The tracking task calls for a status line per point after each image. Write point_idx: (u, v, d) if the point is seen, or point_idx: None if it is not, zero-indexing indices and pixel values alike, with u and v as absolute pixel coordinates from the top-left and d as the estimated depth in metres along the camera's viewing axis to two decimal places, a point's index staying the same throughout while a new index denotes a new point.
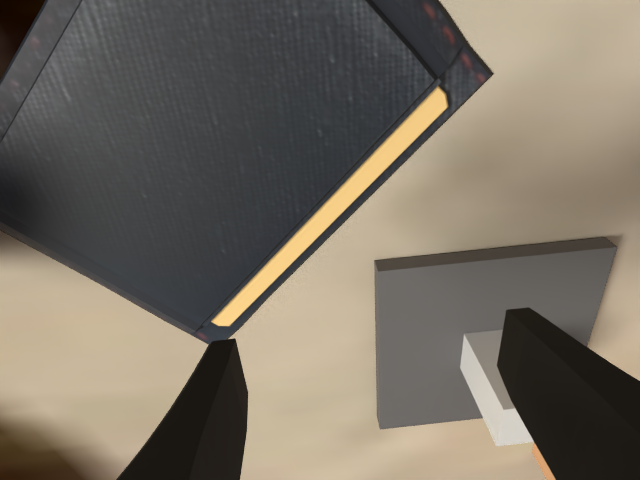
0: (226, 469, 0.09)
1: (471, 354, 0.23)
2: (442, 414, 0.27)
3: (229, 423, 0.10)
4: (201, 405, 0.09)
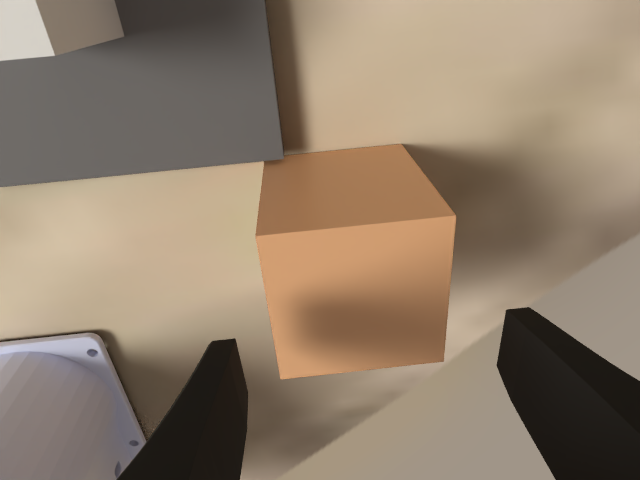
0: (226, 469, 0.09)
1: None
2: (65, 160, 0.16)
3: (229, 423, 0.10)
4: (201, 405, 0.09)
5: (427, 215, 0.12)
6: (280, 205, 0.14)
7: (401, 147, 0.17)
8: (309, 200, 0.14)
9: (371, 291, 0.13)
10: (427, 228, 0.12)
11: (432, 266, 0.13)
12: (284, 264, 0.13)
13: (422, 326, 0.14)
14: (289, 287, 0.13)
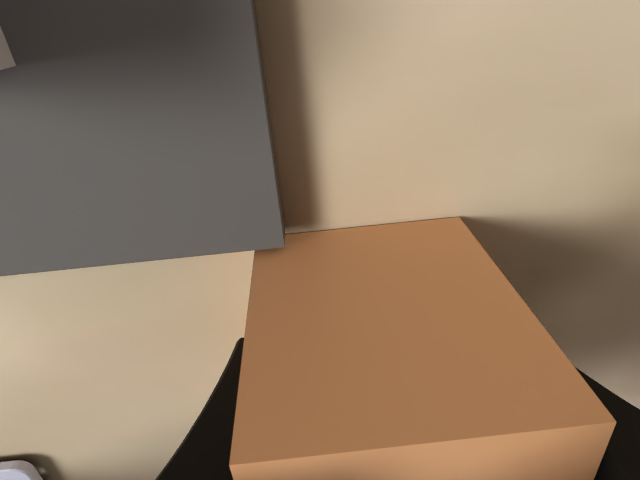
0: None
1: None
2: None
3: None
4: None
5: (556, 414, 0.07)
6: (278, 364, 0.08)
7: (461, 224, 0.12)
8: (329, 353, 0.08)
9: None
10: (557, 442, 0.06)
11: None
12: None
13: None
14: None
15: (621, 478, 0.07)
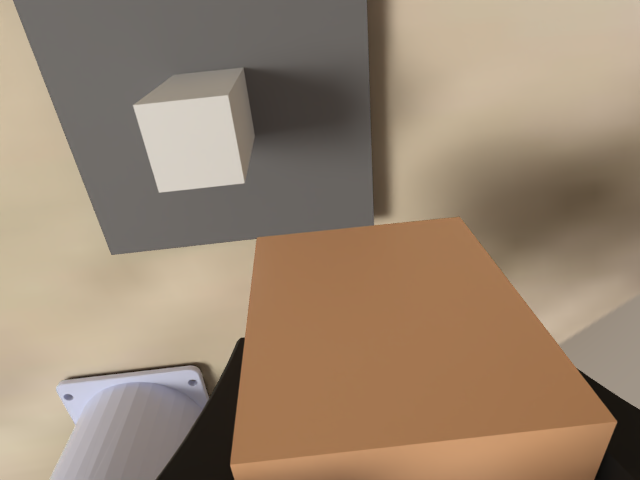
0: None
1: None
2: (193, 230, 0.19)
3: None
4: None
5: (557, 414, 0.07)
6: (279, 363, 0.08)
7: (461, 224, 0.12)
8: (330, 352, 0.08)
9: None
10: (558, 442, 0.06)
11: None
12: None
13: None
14: None
15: (621, 478, 0.07)
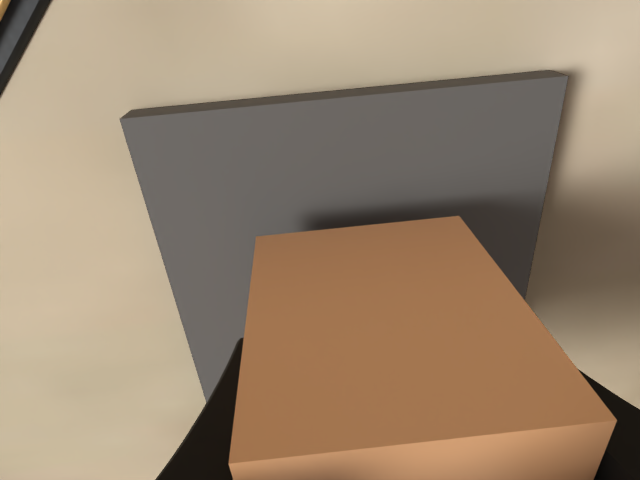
0: None
1: None
2: None
3: None
4: None
5: (557, 413, 0.07)
6: (278, 362, 0.08)
7: (461, 223, 0.12)
8: (329, 351, 0.08)
9: None
10: (558, 440, 0.06)
11: None
12: None
13: None
14: None
15: (621, 478, 0.07)
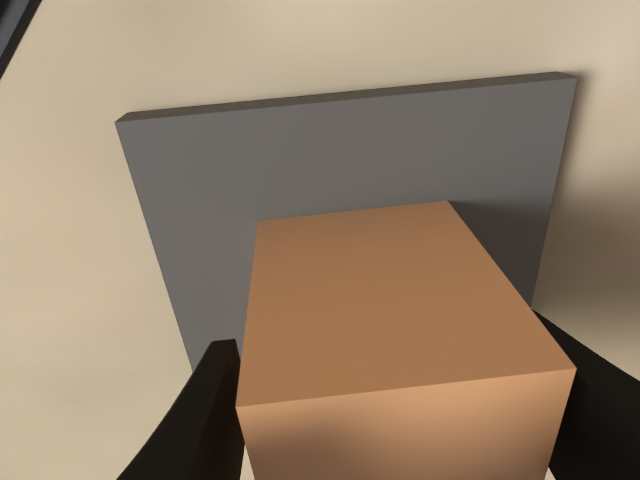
0: (226, 469, 0.09)
1: None
2: None
3: (229, 423, 0.10)
4: (201, 405, 0.09)
5: (524, 363, 0.07)
6: (278, 326, 0.09)
7: (448, 207, 0.12)
8: (324, 317, 0.09)
9: (425, 470, 0.08)
10: (525, 388, 0.07)
11: (526, 436, 0.08)
12: (285, 442, 0.08)
13: None
14: (293, 470, 0.08)
15: None
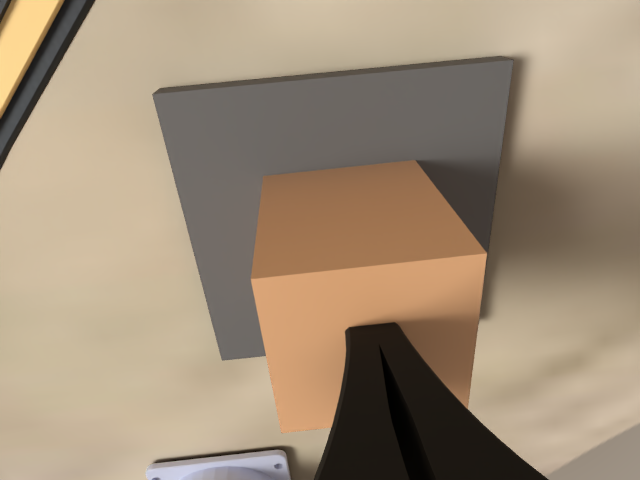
0: None
1: None
2: None
3: None
4: (374, 386, 0.09)
5: (452, 252, 0.11)
6: (280, 237, 0.12)
7: (415, 164, 0.16)
8: (314, 231, 0.12)
9: None
10: (452, 268, 0.10)
11: (457, 310, 0.11)
12: (285, 310, 0.11)
13: (444, 374, 0.12)
14: (291, 335, 0.11)
15: None
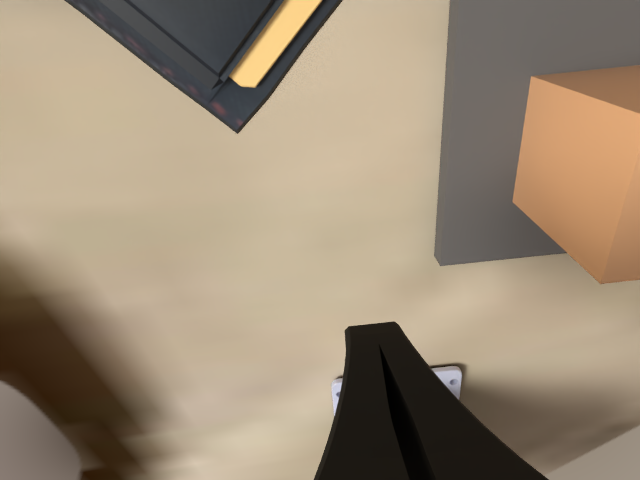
0: None
1: None
2: (519, 244, 0.22)
3: None
4: (374, 386, 0.09)
5: None
6: (627, 100, 0.14)
7: None
8: None
9: None
10: None
11: None
12: None
13: None
14: None
15: None
